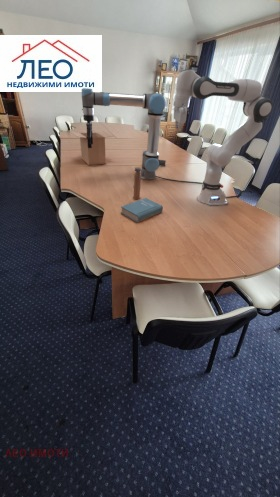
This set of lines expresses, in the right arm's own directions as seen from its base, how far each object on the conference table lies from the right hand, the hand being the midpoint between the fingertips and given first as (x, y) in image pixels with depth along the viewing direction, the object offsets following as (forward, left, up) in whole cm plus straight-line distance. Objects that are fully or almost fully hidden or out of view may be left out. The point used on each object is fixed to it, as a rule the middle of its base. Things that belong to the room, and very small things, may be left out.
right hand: (177, 129), depth 141 cm
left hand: (+60, -32, -20) cm, 71 cm away
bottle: (+24, 0, -48) cm, 53 cm away
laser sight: (0, -88, -48) cm, 100 cm away
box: (+66, -92, -48) cm, 123 cm away
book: (+22, +25, -47) cm, 58 cm away
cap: (+24, 0, -26) cm, 35 cm away
